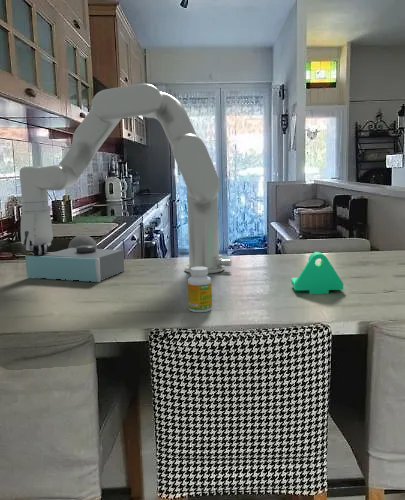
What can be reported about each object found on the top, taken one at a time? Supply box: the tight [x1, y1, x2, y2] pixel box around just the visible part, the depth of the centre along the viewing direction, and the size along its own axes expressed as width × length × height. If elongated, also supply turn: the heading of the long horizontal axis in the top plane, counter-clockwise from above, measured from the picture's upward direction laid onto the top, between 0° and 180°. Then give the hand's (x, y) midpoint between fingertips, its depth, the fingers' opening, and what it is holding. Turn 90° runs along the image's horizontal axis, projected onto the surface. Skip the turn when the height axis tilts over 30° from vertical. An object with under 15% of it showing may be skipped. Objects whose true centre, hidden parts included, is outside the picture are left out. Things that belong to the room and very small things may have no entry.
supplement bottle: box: [187, 266, 213, 313], centre depth 109 cm, size 5×5×10 cm
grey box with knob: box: [43, 245, 125, 281], centre depth 150 cm, size 20×14×9 cm
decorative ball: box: [67, 234, 98, 249], centre depth 169 cm, size 10×10×10 cm
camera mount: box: [290, 251, 344, 295], centre depth 124 cm, size 12×8×10 cm, turn 88°
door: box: [24, 255, 102, 283], centre depth 143 cm, size 26×1×7 cm, turn 71°
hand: (40, 266), depth 149 cm, fingers closed
